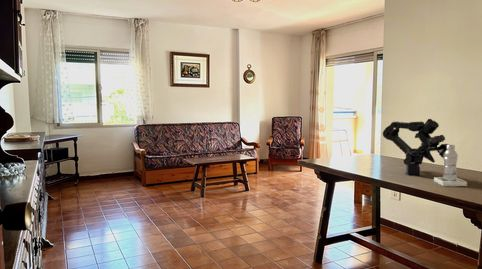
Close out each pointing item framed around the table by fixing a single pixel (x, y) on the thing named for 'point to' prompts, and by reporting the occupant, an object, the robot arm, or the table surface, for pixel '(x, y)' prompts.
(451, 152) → the plastic bottle
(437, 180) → the tray
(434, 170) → the table surface
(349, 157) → the table surface
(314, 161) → the table surface
